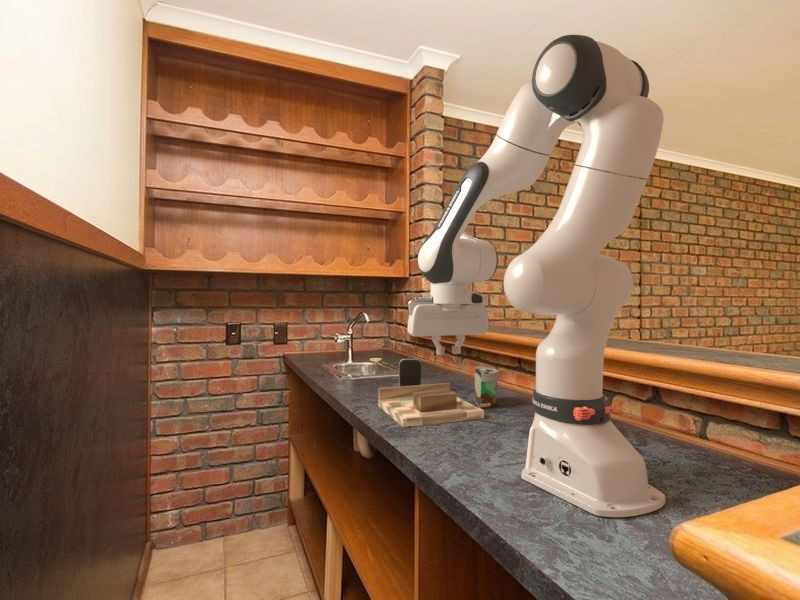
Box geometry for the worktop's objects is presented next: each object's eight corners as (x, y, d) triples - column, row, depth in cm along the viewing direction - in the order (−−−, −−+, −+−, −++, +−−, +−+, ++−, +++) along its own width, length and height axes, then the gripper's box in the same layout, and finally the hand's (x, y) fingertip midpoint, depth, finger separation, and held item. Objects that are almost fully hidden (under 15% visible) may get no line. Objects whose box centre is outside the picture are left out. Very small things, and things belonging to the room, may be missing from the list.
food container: (503, 411, 114) (504, 374, 114) (481, 410, 114) (481, 374, 114) (494, 399, 126) (494, 366, 126) (474, 399, 126) (474, 366, 126)
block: (456, 409, 108) (456, 393, 108) (420, 412, 105) (420, 396, 105) (447, 404, 113) (448, 389, 113) (413, 407, 110) (413, 392, 109)
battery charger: (420, 393, 133) (420, 357, 133) (421, 396, 129) (421, 359, 129) (398, 393, 133) (398, 357, 133) (398, 396, 129) (399, 359, 129)
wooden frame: (484, 418, 107) (484, 398, 107) (403, 427, 100) (403, 406, 99) (448, 399, 126) (448, 382, 126) (378, 405, 118) (378, 388, 118)
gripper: (413, 296, 95) (413, 358, 95) (491, 296, 102) (491, 353, 102) (403, 296, 101) (403, 354, 101) (478, 296, 108) (478, 350, 108)
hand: (448, 354), depth 102 cm, fingers open, 3 cm apart
